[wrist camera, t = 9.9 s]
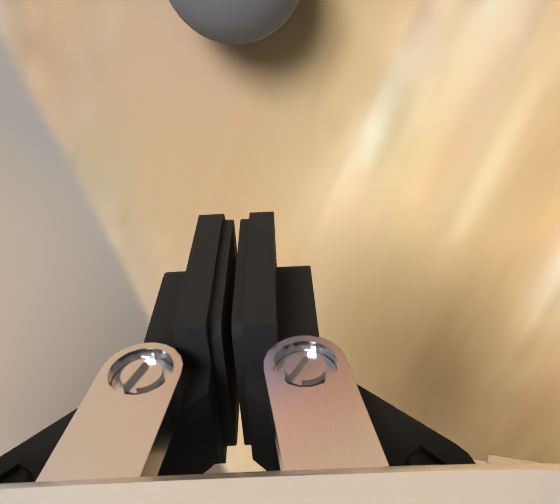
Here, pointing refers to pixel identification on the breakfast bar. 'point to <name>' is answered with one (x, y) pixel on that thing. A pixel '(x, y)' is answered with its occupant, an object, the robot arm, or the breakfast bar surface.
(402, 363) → the breakfast bar surface
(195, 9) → the gray ball
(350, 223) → the breakfast bar surface
